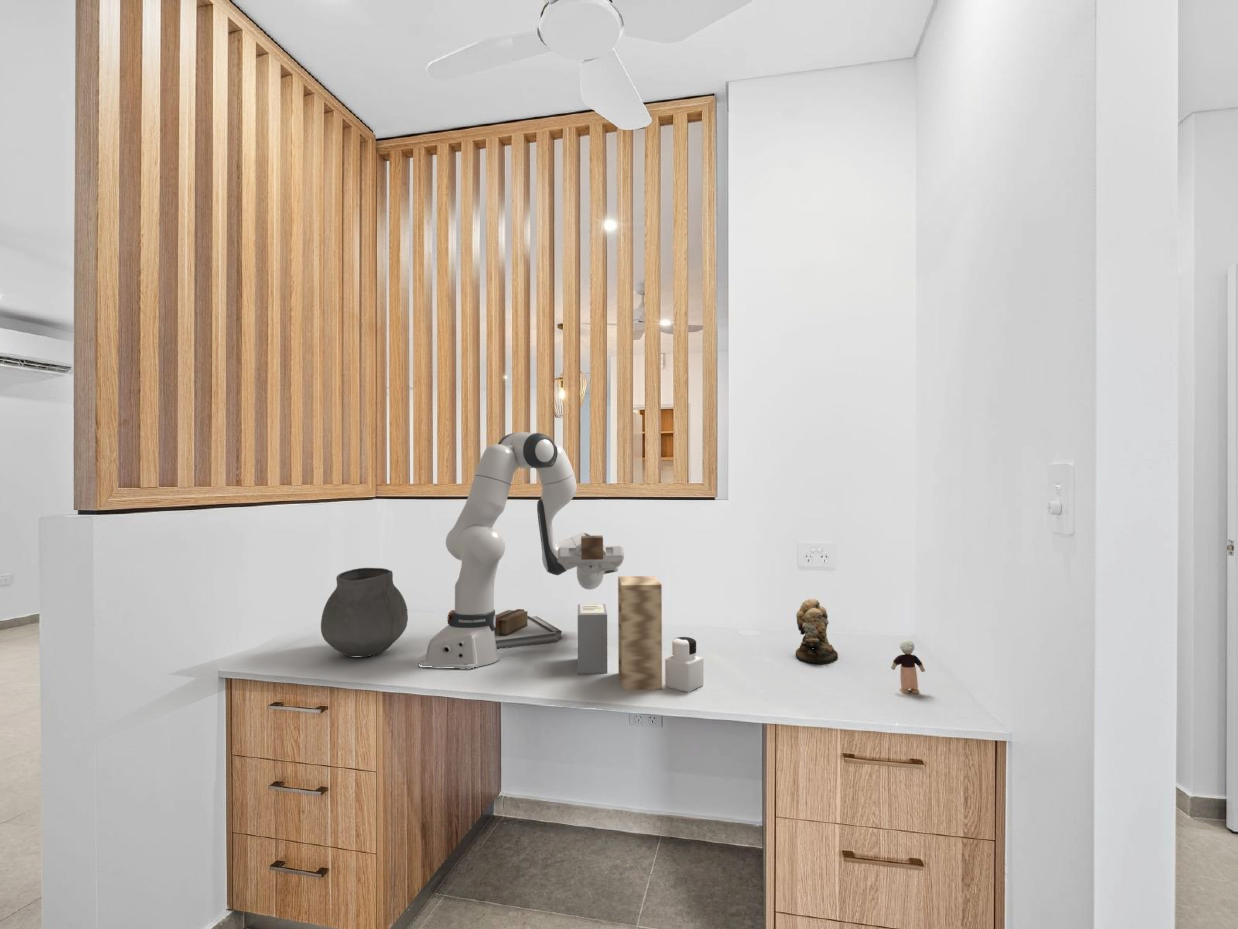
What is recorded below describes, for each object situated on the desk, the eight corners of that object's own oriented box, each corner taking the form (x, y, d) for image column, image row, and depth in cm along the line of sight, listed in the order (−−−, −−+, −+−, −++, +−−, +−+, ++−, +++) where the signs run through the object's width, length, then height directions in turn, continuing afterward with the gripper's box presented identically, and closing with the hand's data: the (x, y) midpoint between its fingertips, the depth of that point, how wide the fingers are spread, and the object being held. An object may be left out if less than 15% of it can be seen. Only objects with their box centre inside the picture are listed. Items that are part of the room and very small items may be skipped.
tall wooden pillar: (622, 690, 157) (621, 585, 157) (618, 673, 171) (618, 576, 171) (662, 689, 157) (661, 584, 158) (655, 672, 171) (654, 576, 172)
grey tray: (451, 632, 218) (451, 611, 218) (534, 623, 232) (534, 602, 232) (472, 654, 191) (472, 629, 192) (564, 642, 205) (564, 619, 205)
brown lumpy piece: (836, 668, 175) (835, 606, 175) (792, 664, 179) (791, 603, 179) (838, 650, 192) (837, 594, 192) (798, 647, 196) (797, 592, 196)
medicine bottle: (680, 679, 165) (680, 633, 165) (704, 685, 160) (703, 638, 160) (664, 687, 159) (664, 639, 159) (688, 693, 155) (688, 643, 155)
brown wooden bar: (581, 559, 174) (581, 537, 174) (581, 551, 191) (580, 532, 191) (603, 559, 174) (603, 537, 174) (600, 551, 191) (600, 531, 192)
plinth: (577, 673, 170) (577, 614, 170) (577, 659, 184) (577, 603, 184) (607, 673, 170) (607, 613, 171) (605, 658, 184) (605, 603, 185)
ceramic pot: (300, 662, 182) (301, 575, 182) (358, 641, 205) (359, 563, 206) (371, 669, 175) (372, 578, 175) (423, 646, 198) (424, 566, 198)
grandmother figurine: (918, 688, 157) (918, 637, 157) (926, 694, 153) (926, 641, 154) (888, 689, 157) (887, 638, 157) (895, 694, 153) (895, 642, 153)
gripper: (557, 554, 200) (556, 536, 188) (621, 553, 202) (624, 534, 190) (557, 572, 197) (555, 555, 185) (622, 571, 198) (625, 554, 187)
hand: (591, 545), depth 188 cm, fingers closed on brown wooden bar, 4 cm apart
